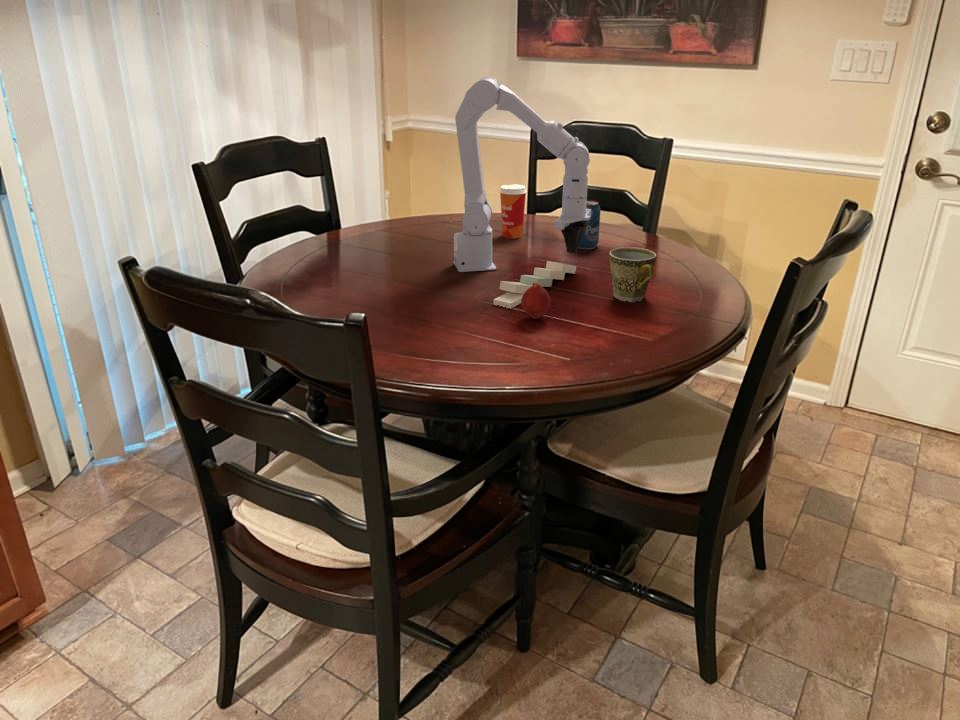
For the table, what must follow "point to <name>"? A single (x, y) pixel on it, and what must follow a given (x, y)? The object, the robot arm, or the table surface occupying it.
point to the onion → (535, 301)
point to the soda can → (591, 227)
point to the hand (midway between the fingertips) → (572, 252)
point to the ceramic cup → (631, 272)
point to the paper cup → (512, 210)
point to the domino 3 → (536, 280)
